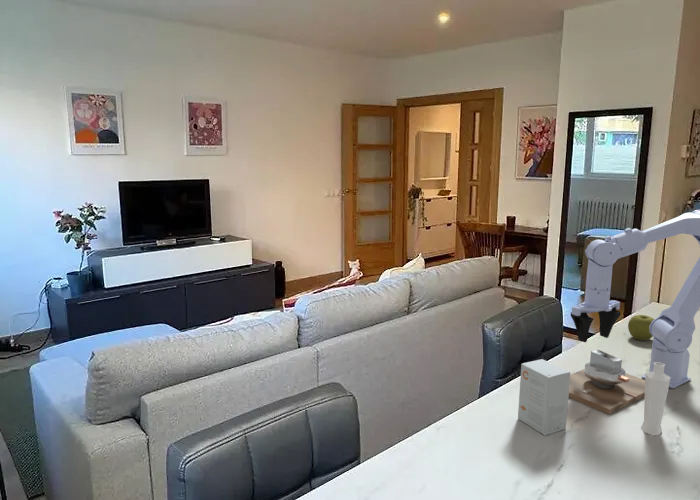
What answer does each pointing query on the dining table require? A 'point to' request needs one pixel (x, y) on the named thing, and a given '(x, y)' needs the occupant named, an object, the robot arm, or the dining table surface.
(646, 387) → the perfume bottle
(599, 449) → the dining table surface
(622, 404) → the post board
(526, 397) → the small box
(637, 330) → the apple
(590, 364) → the cap
